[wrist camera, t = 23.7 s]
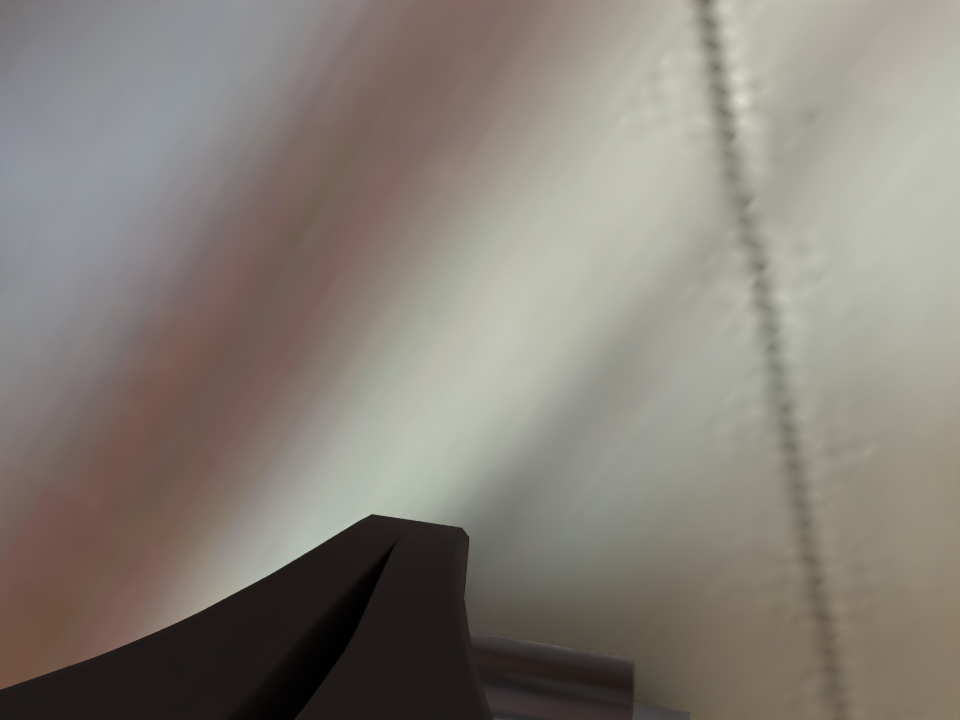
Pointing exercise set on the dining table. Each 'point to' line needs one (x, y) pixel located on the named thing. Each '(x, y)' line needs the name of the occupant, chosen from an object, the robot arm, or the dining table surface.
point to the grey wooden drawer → (558, 682)
